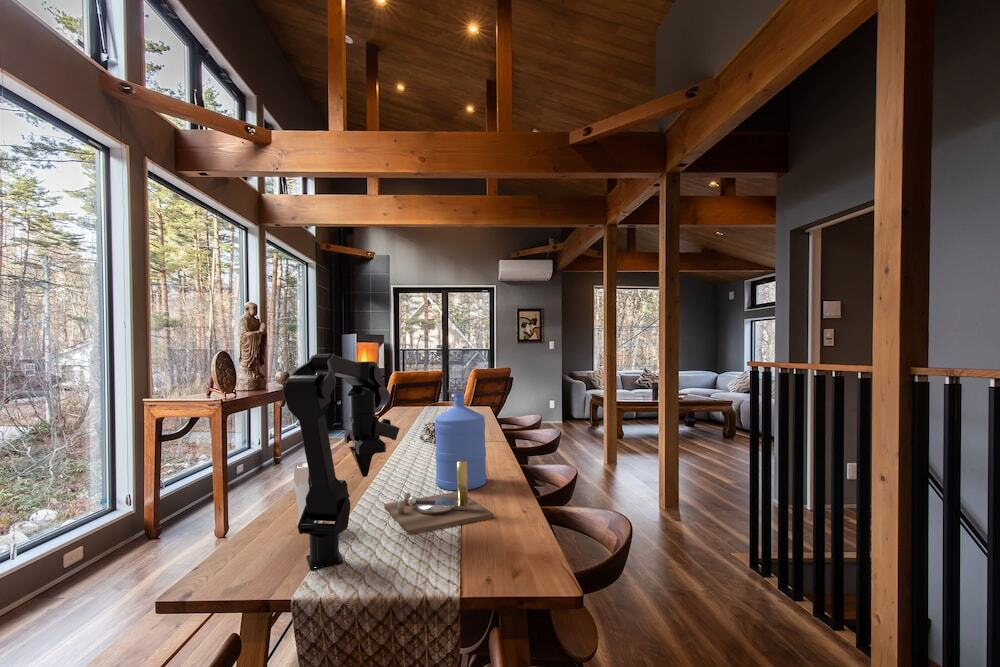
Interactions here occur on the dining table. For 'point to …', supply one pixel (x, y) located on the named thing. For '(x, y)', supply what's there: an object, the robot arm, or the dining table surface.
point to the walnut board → (423, 522)
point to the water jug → (460, 445)
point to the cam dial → (445, 503)
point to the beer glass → (302, 487)
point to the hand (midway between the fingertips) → (364, 476)
